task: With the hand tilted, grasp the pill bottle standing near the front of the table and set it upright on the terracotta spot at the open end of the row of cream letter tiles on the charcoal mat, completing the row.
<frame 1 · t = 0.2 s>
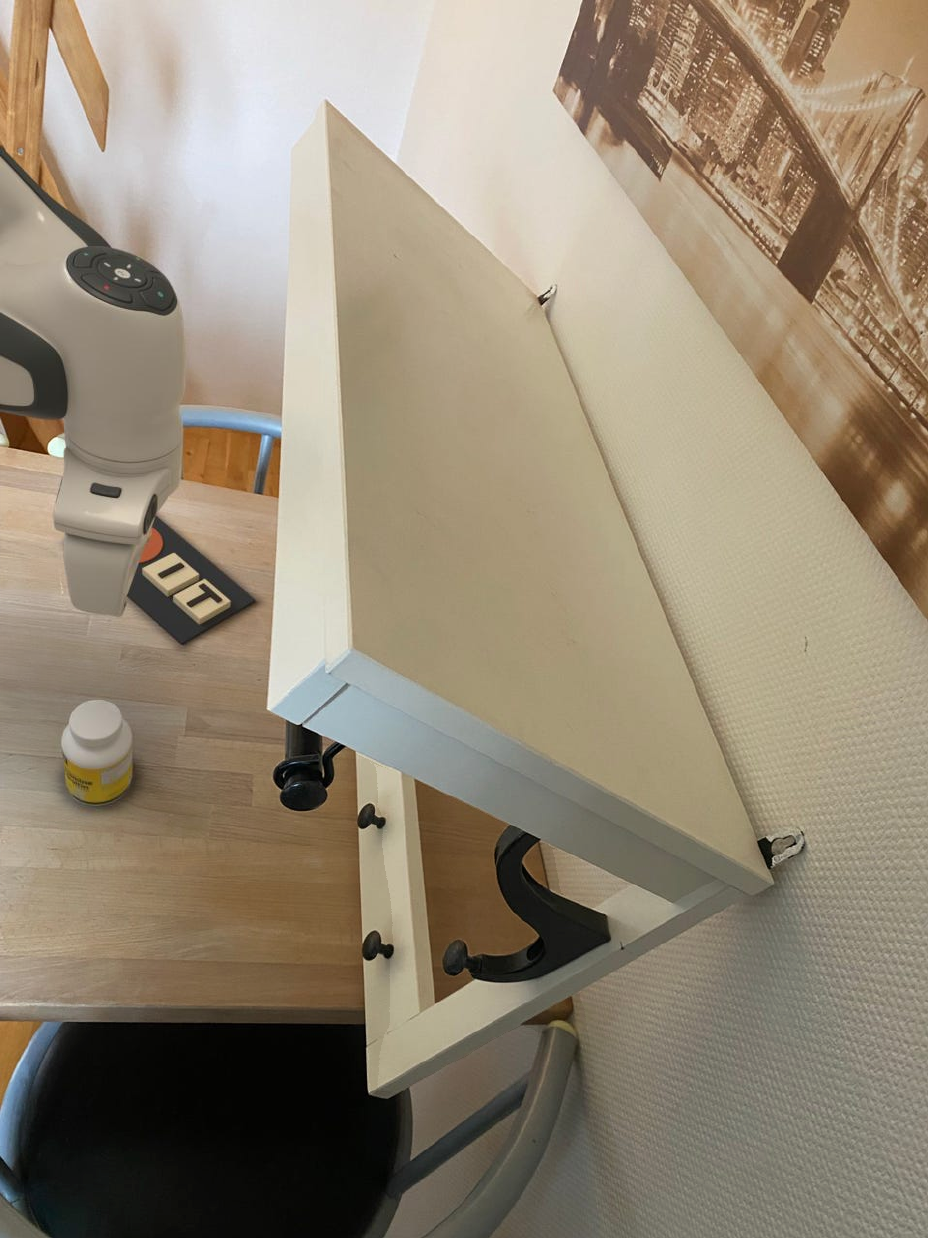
hand: (127, 573, 77), 23 cm above the table, tool pointing down, fingers open, 8 cm apart
pill bottle: (100, 782, 87), on the table
letter mat: (163, 576, 108), on the table
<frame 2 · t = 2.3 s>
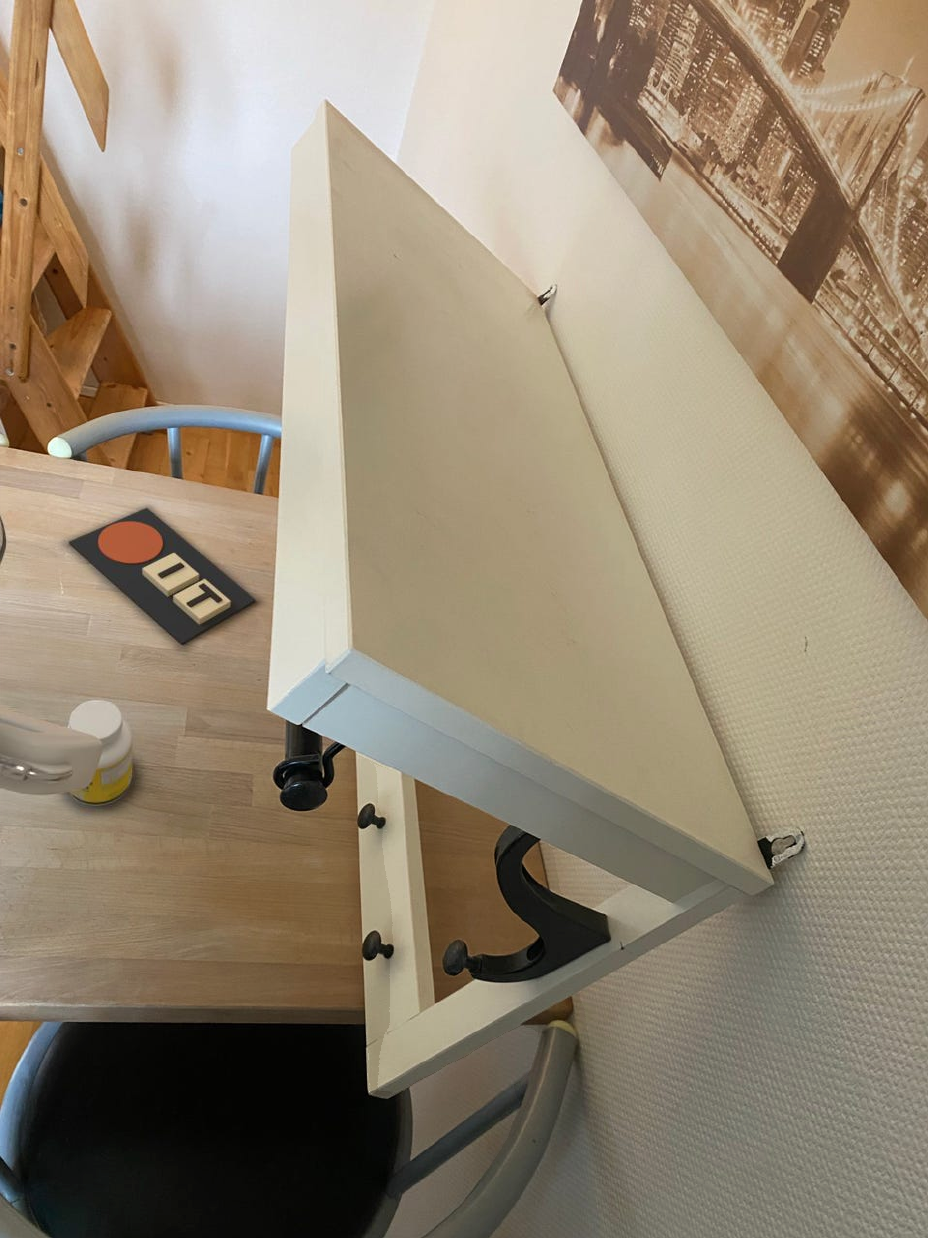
hand: (0, 718, 63), 24 cm above the table, tool tilted 40°, fingers open, 8 cm apart
nothing on the table moved.
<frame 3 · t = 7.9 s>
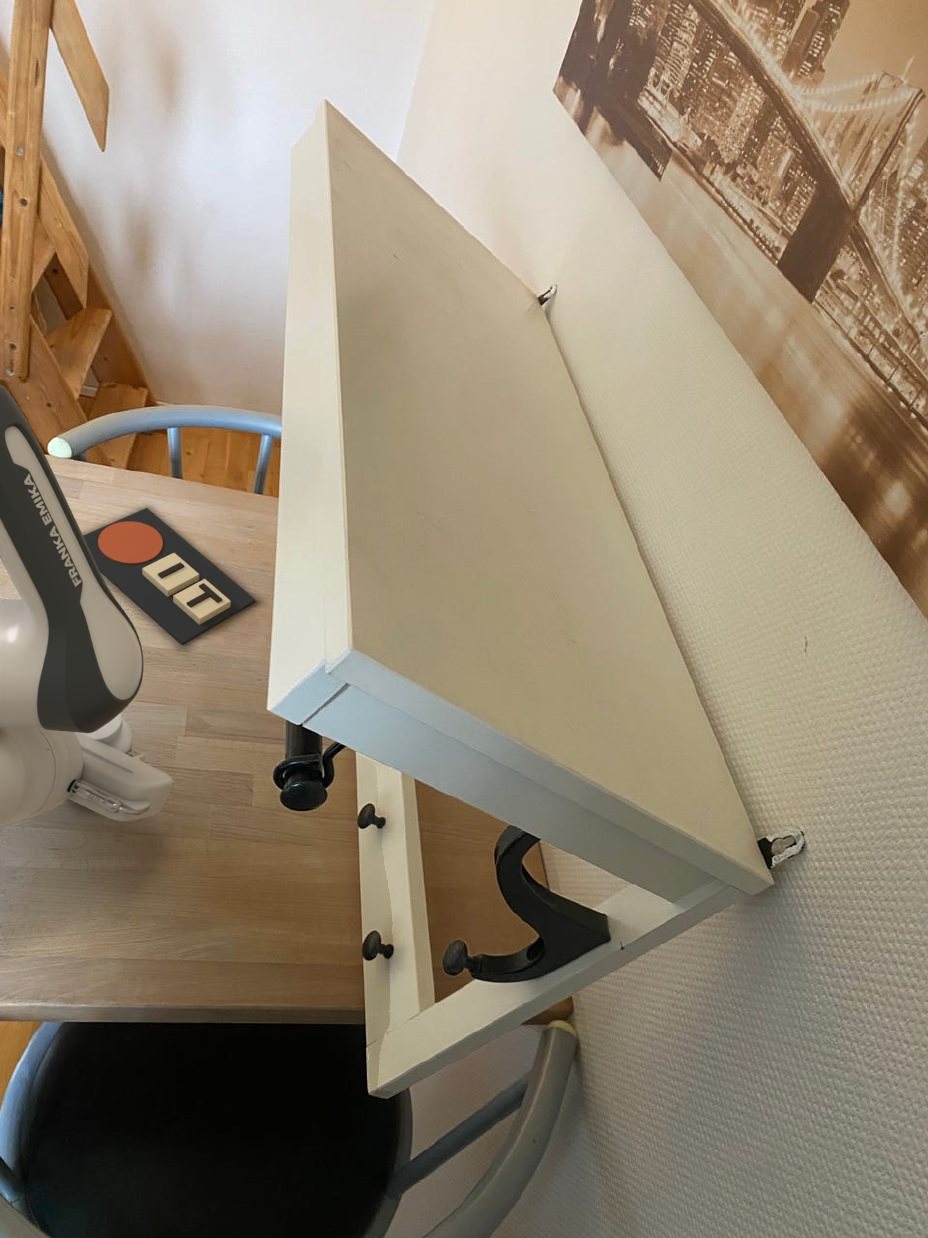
hand: (101, 743, 83), 6 cm above the table, tool tilted 45°, fingers closed on pill bottle, 6 cm apart
pill bottle: (100, 782, 87), on the table, touching gripper
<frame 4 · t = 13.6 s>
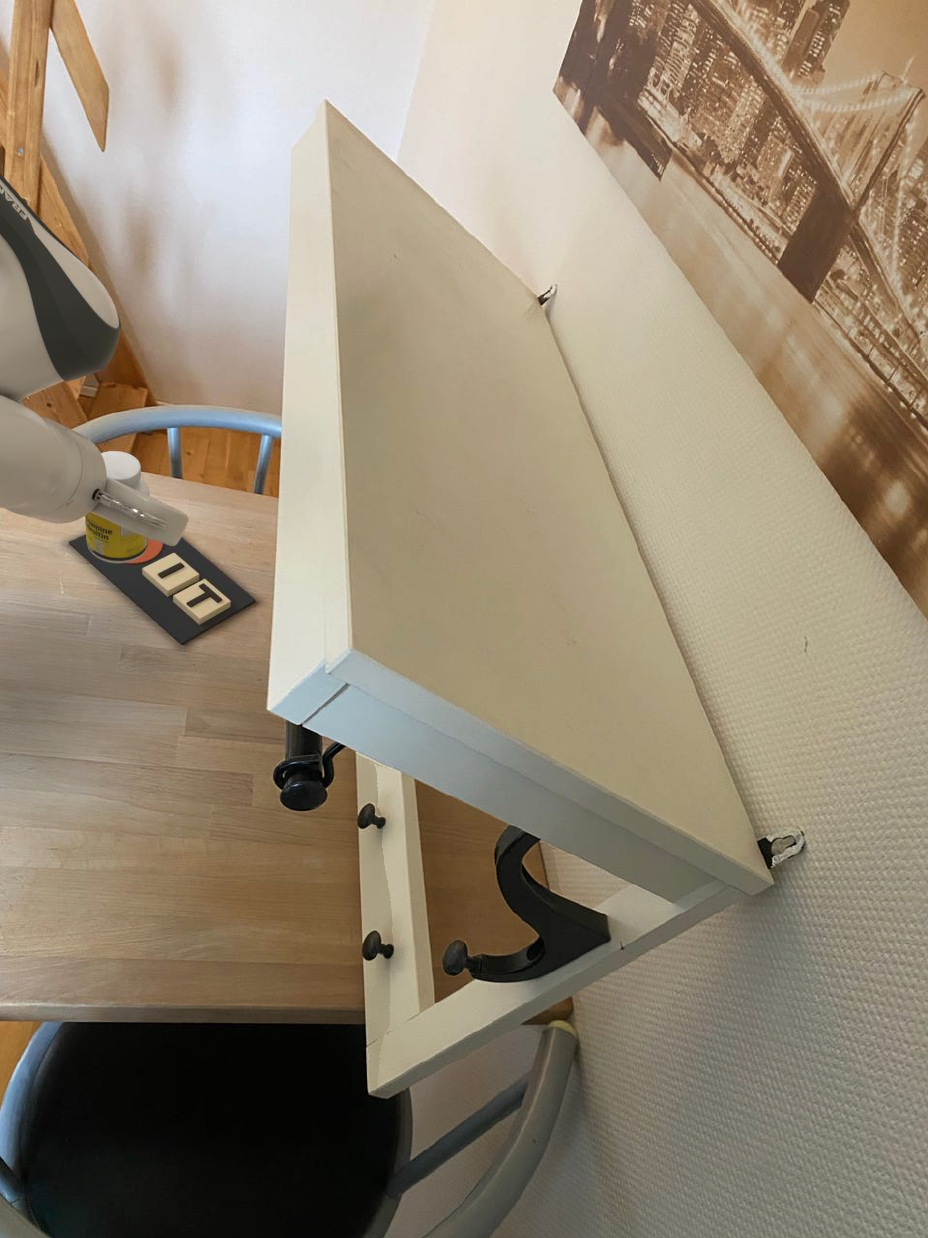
hand: (120, 499, 88), 19 cm above the table, tool tilted 45°, fingers closed on pill bottle, 6 cm apart
pill bottle: (118, 547, 93), point 13 cm above the table, touching gripper
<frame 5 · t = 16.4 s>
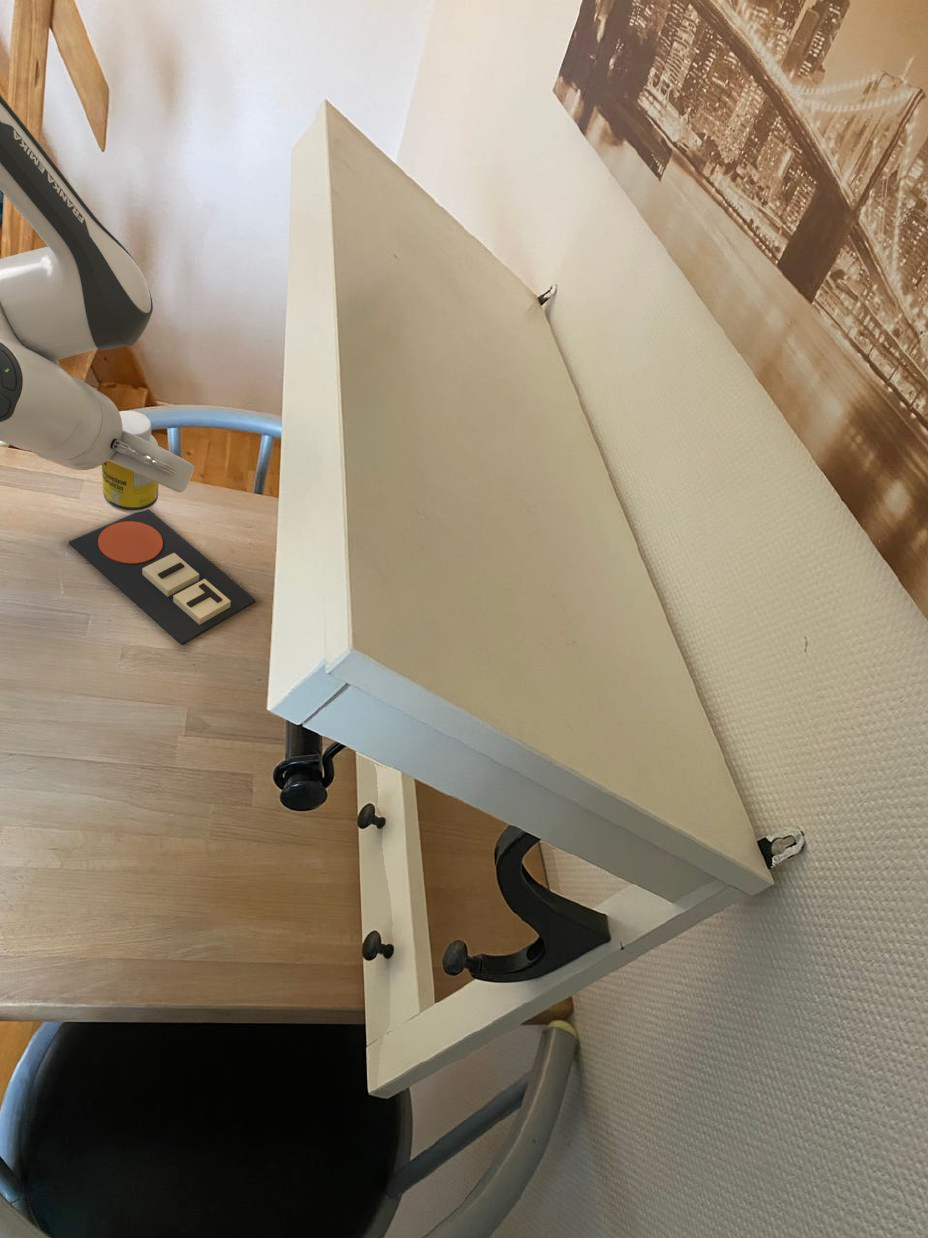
hand: (133, 455, 100), 15 cm above the table, tool tilted 45°, fingers closed on pill bottle, 6 cm apart
pill bottle: (131, 499, 104), point 9 cm above the table, touching gripper
when the fingers open (7 cm above the table, at t = 19.1 s): pill bottle stays where it is, resting on letter mat.
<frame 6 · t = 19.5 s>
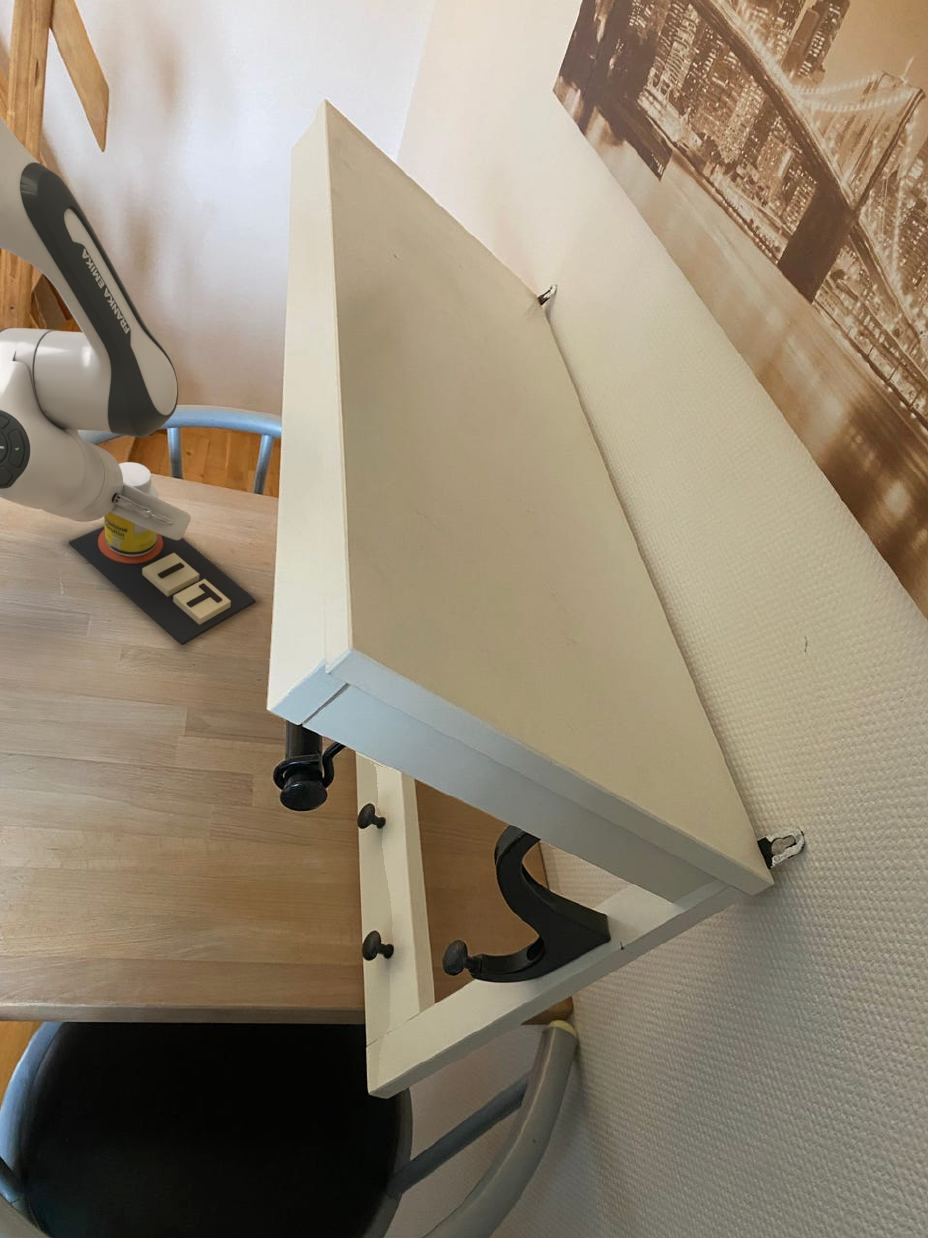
hand: (132, 501, 105), 8 cm above the table, tool tilted 45°, fingers open, 8 cm apart
pill bottle: (131, 543, 109), point 1 cm above the table, touching letter mat
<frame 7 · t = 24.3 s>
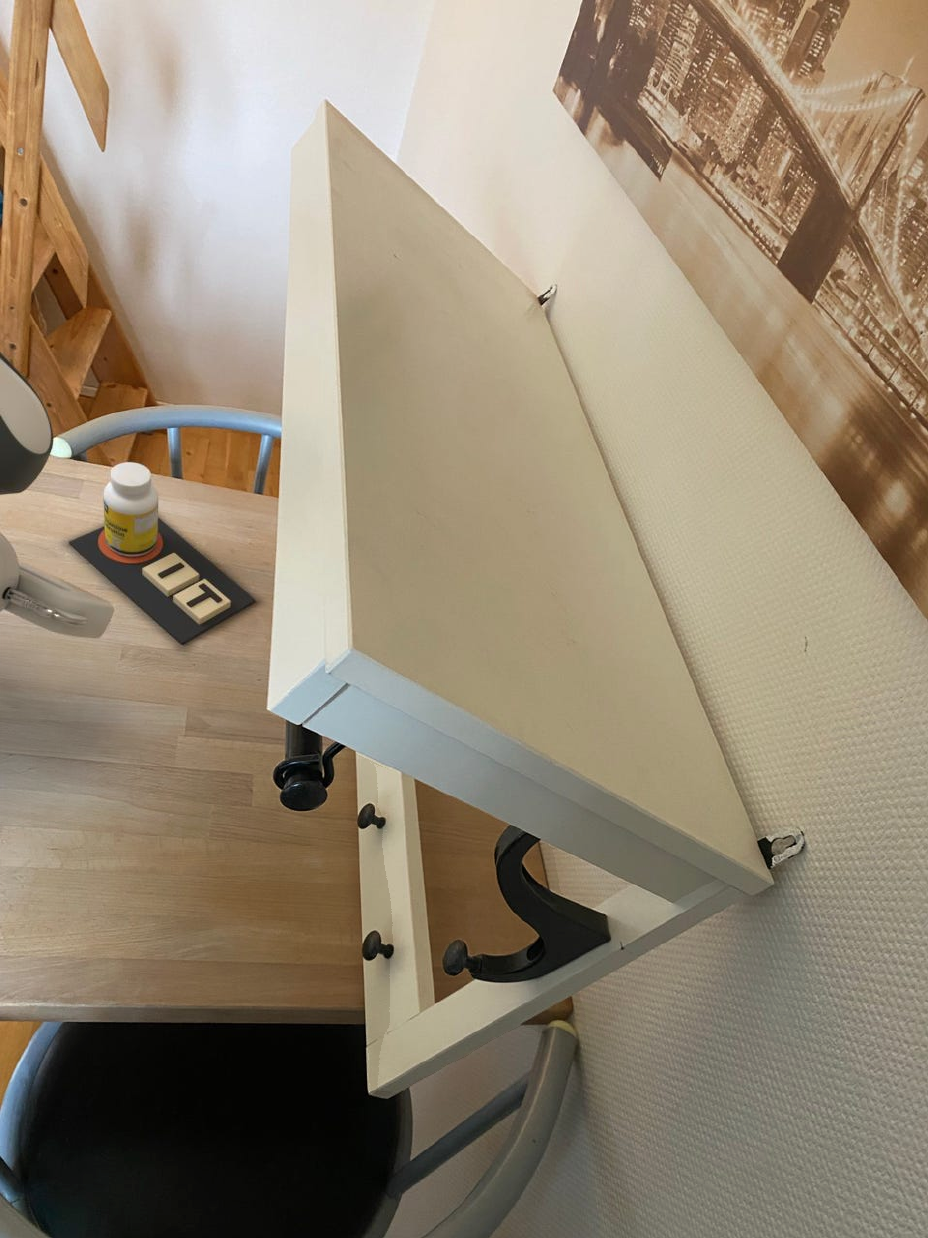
hand: (46, 582, 83), 15 cm above the table, tool tilted 45°, fingers open, 8 cm apart
nothing on the table moved.
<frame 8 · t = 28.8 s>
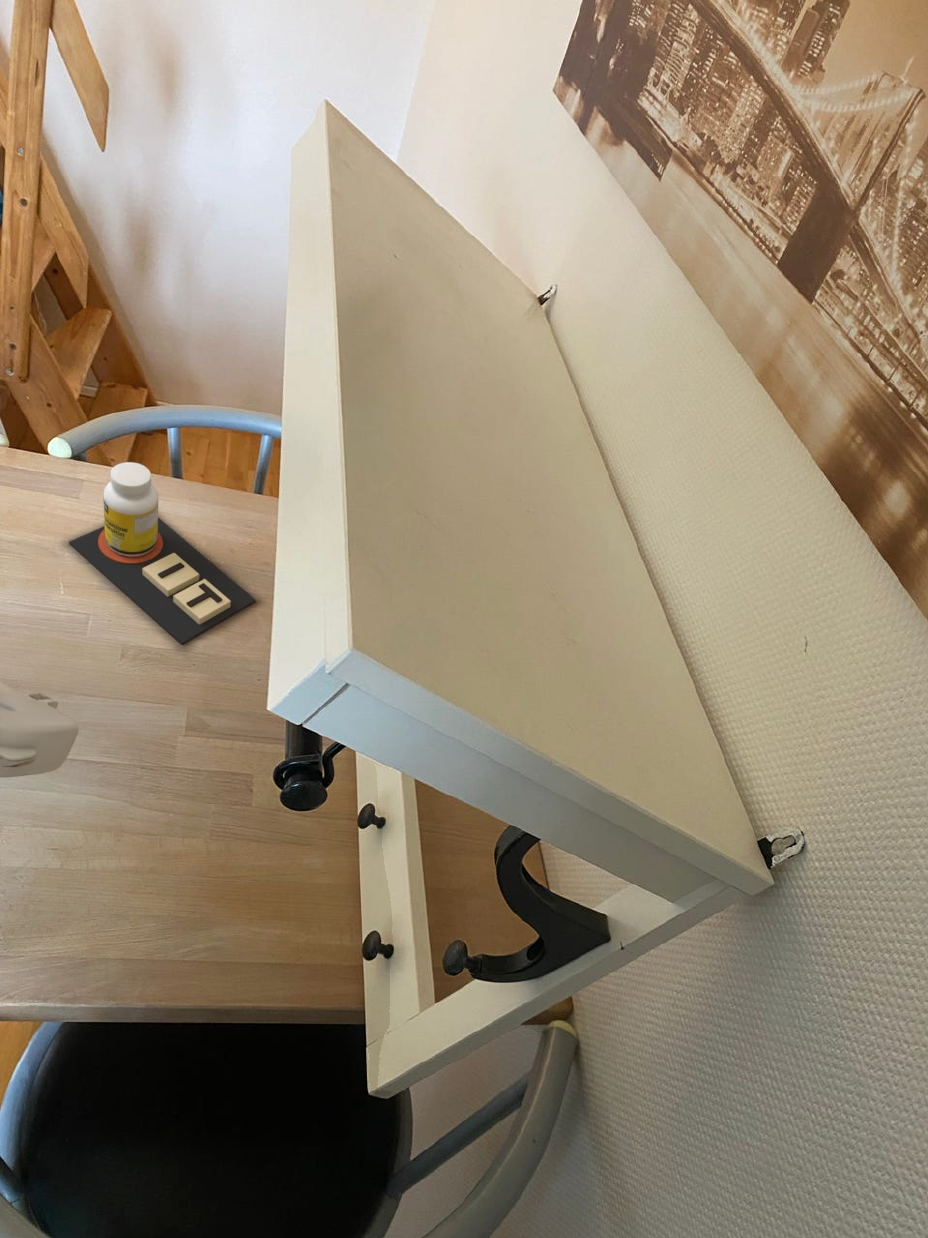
nothing on the table moved.
at the end: pill bottle 0.1 cm from the target spot on the letter mat, point 1.0 cm above the letter mat's base; pill bottle tilted 0°; the gripper is holding nothing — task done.
